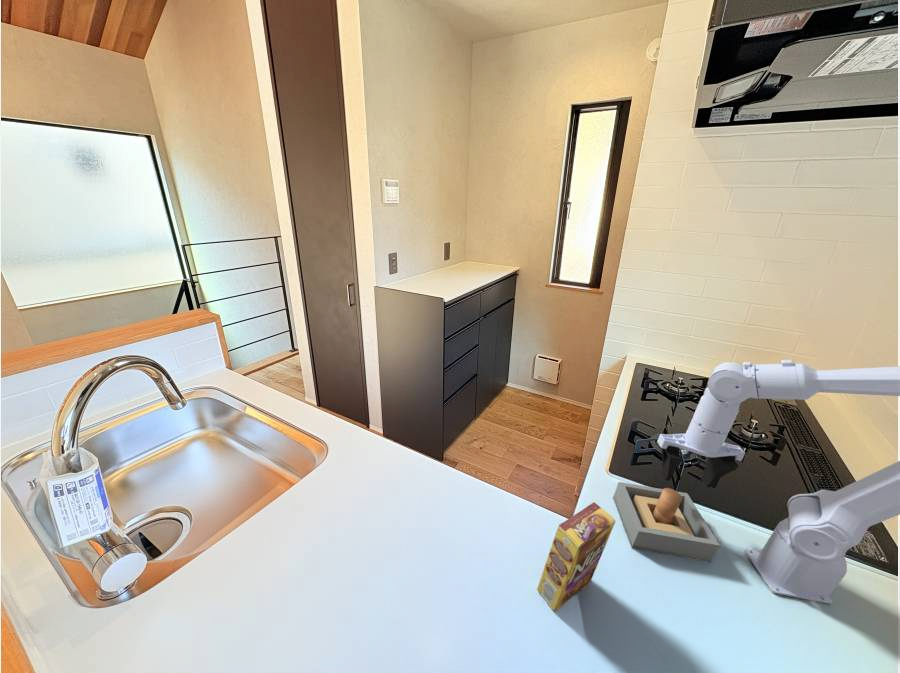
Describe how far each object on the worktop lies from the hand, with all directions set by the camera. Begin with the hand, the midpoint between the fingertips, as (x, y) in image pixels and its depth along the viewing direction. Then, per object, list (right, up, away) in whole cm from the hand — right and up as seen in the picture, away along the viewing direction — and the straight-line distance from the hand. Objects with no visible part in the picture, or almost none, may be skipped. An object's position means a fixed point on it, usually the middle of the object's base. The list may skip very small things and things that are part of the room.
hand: (685, 480), depth 71 cm
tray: (-5, -10, 0) cm, 11 cm away
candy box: (-28, -13, -13) cm, 33 cm away
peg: (-5, -9, 0) cm, 10 cm away
